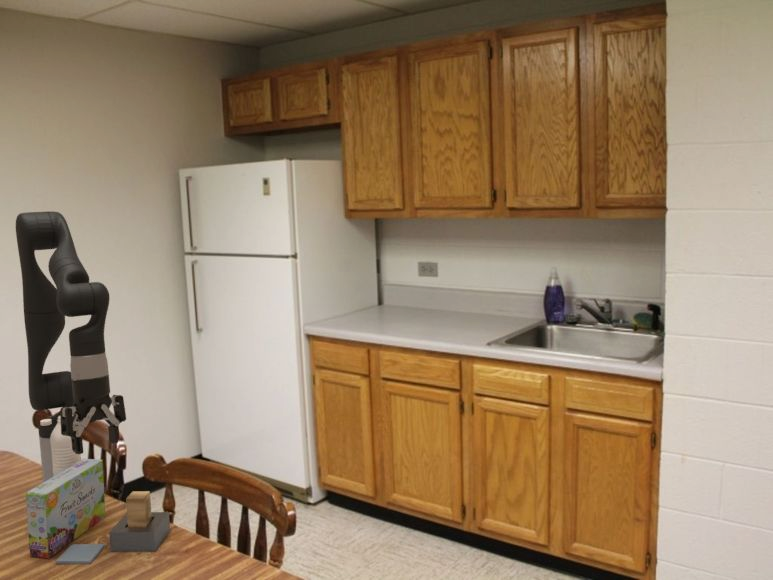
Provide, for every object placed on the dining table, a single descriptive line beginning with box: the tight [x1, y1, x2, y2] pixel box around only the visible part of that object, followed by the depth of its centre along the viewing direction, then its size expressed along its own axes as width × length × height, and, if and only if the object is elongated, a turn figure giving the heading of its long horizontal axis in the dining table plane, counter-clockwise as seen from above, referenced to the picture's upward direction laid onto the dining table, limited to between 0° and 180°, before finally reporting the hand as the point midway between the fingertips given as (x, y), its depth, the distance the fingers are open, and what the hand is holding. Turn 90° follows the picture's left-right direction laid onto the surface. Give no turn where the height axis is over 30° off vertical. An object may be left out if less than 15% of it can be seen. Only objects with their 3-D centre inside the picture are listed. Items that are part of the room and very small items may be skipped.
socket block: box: [109, 511, 171, 553], centre depth 163 cm, size 10×10×4 cm
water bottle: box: [39, 416, 82, 476], centre depth 176 cm, size 9×6×25 cm
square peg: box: [125, 490, 152, 527], centre depth 163 cm, size 4×4×11 cm
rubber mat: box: [55, 543, 106, 565], centre depth 157 cm, size 8×8×1 cm
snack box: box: [25, 458, 106, 559], centre depth 166 cm, size 21×6×15 cm, turn 168°
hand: (96, 448), depth 156 cm, fingers open, 8 cm apart
